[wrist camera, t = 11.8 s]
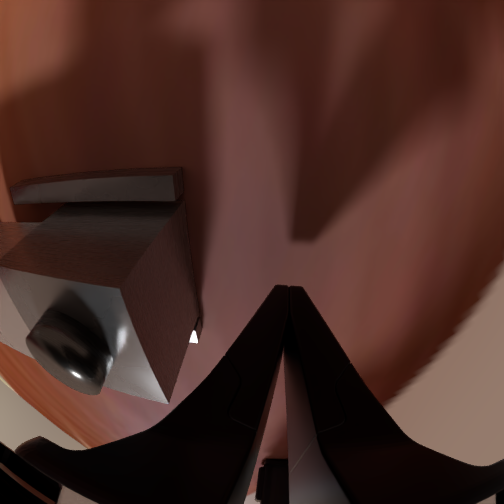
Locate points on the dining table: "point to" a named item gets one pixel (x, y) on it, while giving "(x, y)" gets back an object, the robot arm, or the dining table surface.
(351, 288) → the dining table surface
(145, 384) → the block
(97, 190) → the ram guide
